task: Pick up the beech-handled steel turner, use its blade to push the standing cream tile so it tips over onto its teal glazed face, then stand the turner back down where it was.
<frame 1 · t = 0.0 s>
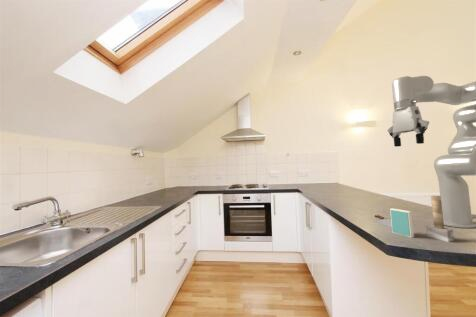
hand: (408, 145, 95), 37 cm above the countertop, tool pointing down, fingers open, 9 cm apart
tile: (402, 234, 90), on the countertop
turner: (440, 238, 83), on the countertop
kitchen cleaver: (384, 222, 111), on the countertop
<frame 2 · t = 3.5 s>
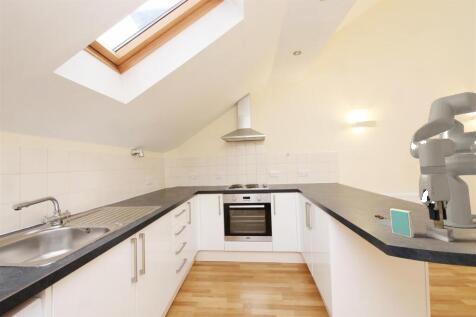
hand: (438, 219, 84), 7 cm above the countertop, tool pointing down, fingers closed on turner, 2 cm apart
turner: (440, 238, 83), on the countertop, touching gripper
everything else where it was.
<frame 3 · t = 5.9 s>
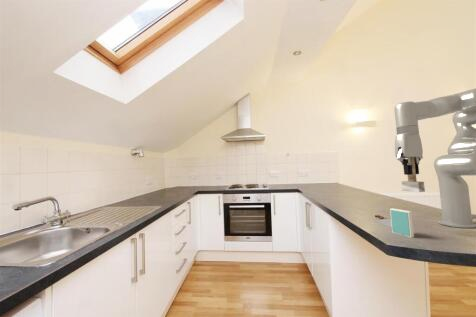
hand: (411, 174, 93), 24 cm above the countertop, tool pointing down, fingers closed on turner, 2 cm apart
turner: (413, 191, 93), point 17 cm above the countertop, touching gripper
everything else where it was.
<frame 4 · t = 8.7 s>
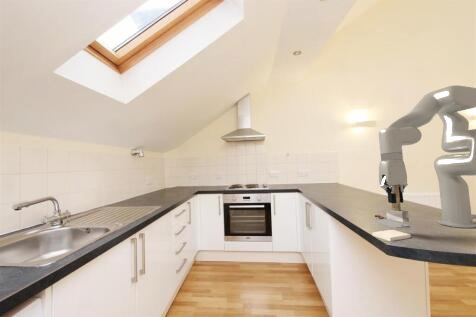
hand: (395, 202, 90), 13 cm above the countertop, tool pointing down, fingers closed on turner, 2 cm apart
tile: (400, 233, 90), on the countertop, tilted 90°
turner: (397, 220, 90), point 6 cm above the countertop, touching gripper
everything else where it was.
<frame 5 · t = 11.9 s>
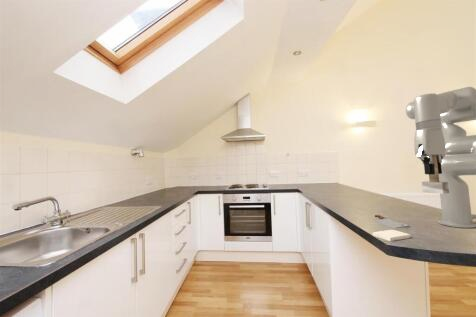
hand: (433, 173, 85), 24 cm above the countertop, tool pointing down, fingers closed on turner, 2 cm apart
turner: (435, 192, 84), point 17 cm above the countertop, touching gripper
everything else where it was.
when the fingers open (9 cm above the countertop, at t = 14.9 s): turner drops 1 cm, on the countertop.
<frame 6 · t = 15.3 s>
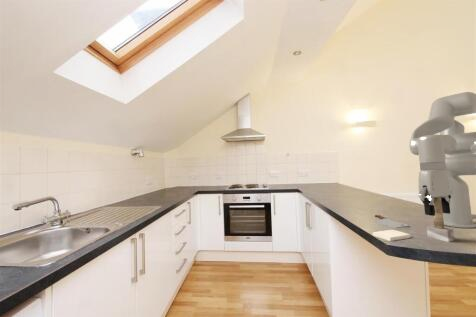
hand: (437, 213, 84), 9 cm above the countertop, tool pointing down, fingers open, 7 cm apart
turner: (440, 238, 83), on the countertop
everything else where it was.
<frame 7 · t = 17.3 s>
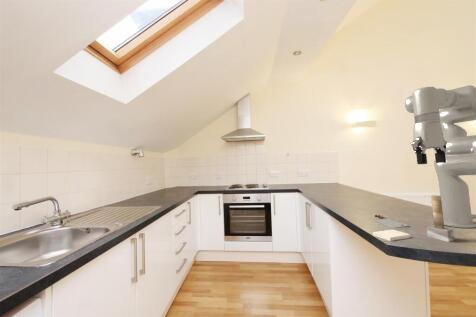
hand: (431, 163, 85), 28 cm above the countertop, tool pointing down, fingers open, 9 cm apart
nothing on the countertop moved.
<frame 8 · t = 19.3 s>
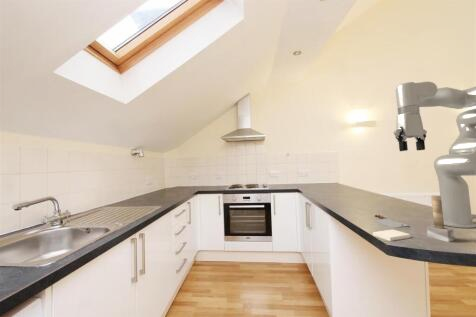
hand: (412, 150, 96), 34 cm above the countertop, tool pointing down, fingers open, 9 cm apart
nothing on the countertop moved.
at the end: tile tilted 90°; the gripper is holding nothing; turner inside the target area (0.1 cm from its centre), on the countertop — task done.
